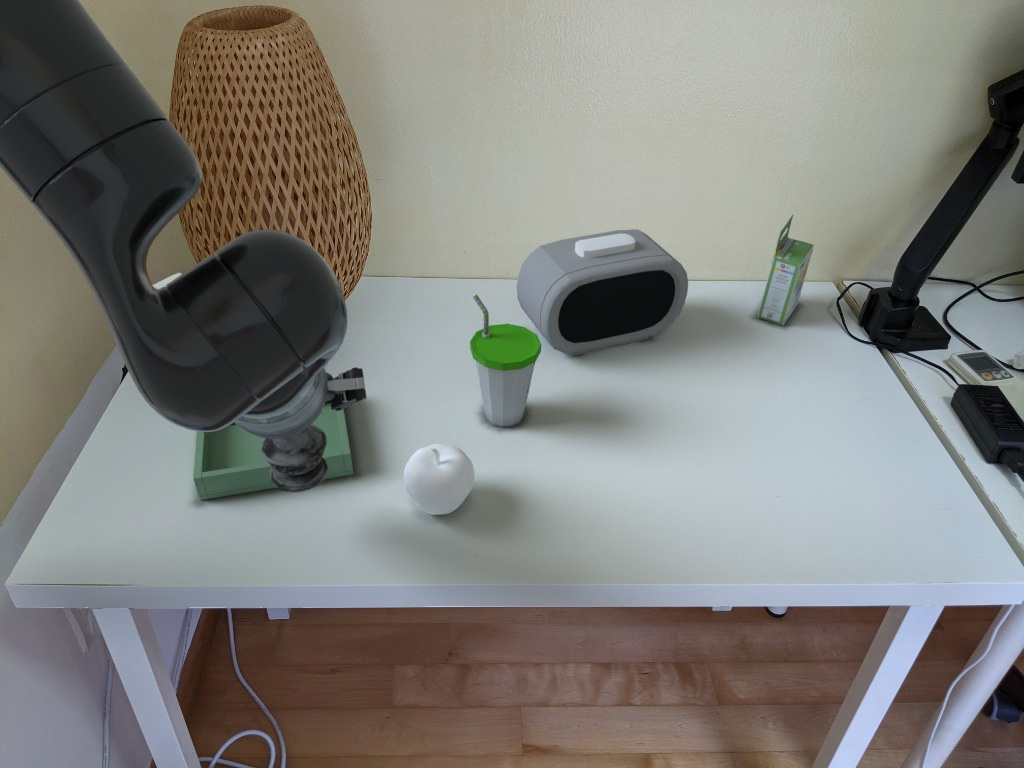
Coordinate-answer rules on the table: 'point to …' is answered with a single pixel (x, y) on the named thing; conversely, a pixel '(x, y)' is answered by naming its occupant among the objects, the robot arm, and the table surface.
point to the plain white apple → (439, 478)
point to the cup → (504, 368)
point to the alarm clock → (601, 290)
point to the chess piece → (297, 459)
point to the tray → (258, 457)
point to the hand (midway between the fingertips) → (288, 408)
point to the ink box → (785, 278)
